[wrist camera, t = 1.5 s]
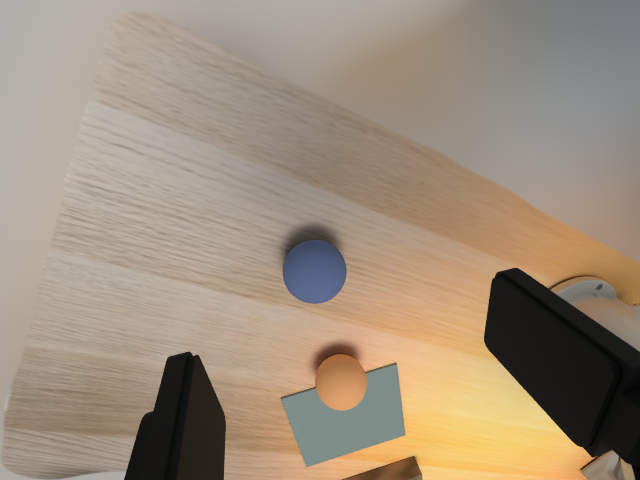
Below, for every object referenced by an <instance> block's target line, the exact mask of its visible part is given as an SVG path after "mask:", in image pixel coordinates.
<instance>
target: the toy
mask: <svg viewBox="0 0 640 480" xmlns="http://www.w3.org/2000/svg"><path fill="white" fill-rule="evenodd" d="M618 460H619V456H618V455H617V454H616V453H615V452H614V451H610V452H607V453H605V454H603V455H602V456H600V457H599V458H597V459H596V460H595V461H593V462H592V463H590V464H589V465H588V466H586V467H585V468H583V469H582V470H581V472H582V474H583V475H584V476H585V477H586V478H587V479H588V480H625V477H624V473H623V468H622V464H621V460H619V461H618Z"/></svg>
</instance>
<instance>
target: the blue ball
mask: <svg viewBox="0 0 640 480" xmlns="http://www.w3.org/2000/svg"><path fill="white" fill-rule="evenodd" d="M283 278H284V282H285V285H286V287H287V288H288V290H289V291H290V293H291V294H292V295H293V296H295V297H296V298H297V299H299V300H301V301H303V302H306V303H313V304H317V303H323V302H326V301H328V300H330V299H332V298H333V297H335V296H336V295H337V294H338V293H339V291H340V290H341V289H342V287H343V285H344V282H345V279H346V264H345V261H344V258H343V256H342V255H341V253H340V252H339V251H338V249H337V248H335V247H334V246H333V245H331V244H330V243H328V242H325V241H322V240H308V241H304V242H302V243H300V244H298V245H296V246H295V247H294V248H293V249H292V250H291V251H290V252H289V253H288V255H287V257H286V259H285V261H284V265H283Z"/></svg>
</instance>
